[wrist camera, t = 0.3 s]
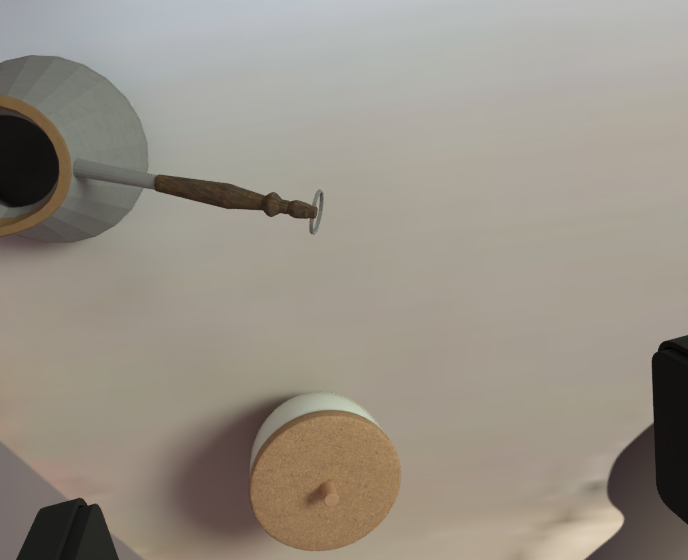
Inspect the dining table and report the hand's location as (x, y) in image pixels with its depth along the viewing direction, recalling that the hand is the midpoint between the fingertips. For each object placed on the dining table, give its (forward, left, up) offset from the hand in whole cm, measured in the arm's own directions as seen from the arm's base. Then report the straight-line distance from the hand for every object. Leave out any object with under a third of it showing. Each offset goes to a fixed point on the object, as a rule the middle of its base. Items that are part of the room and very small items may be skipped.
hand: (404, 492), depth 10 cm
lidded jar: (+19, +1, -36) cm, 41 cm away
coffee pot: (-4, -8, -36) cm, 37 cm away
